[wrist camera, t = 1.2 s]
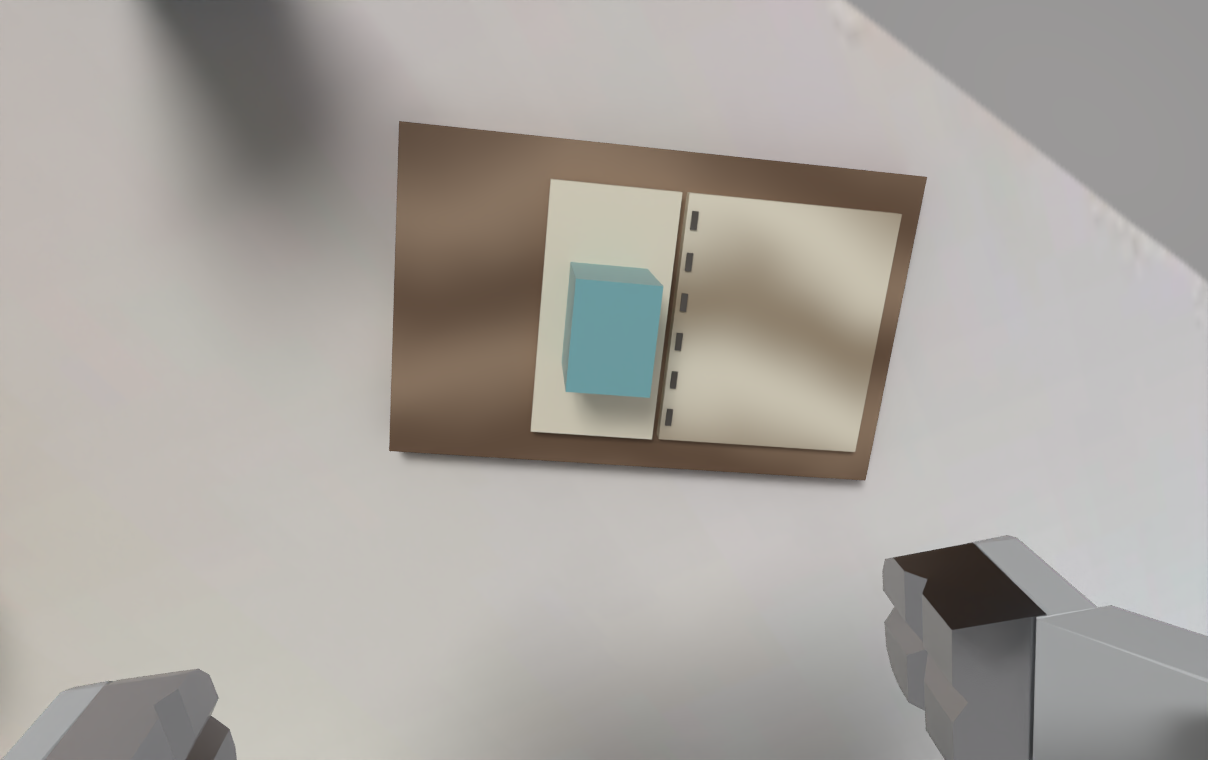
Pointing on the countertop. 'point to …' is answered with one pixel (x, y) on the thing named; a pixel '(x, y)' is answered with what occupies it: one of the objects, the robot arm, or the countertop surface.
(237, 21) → the countertop surface
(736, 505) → the countertop surface
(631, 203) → the panel
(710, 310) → the board
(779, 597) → the countertop surface
